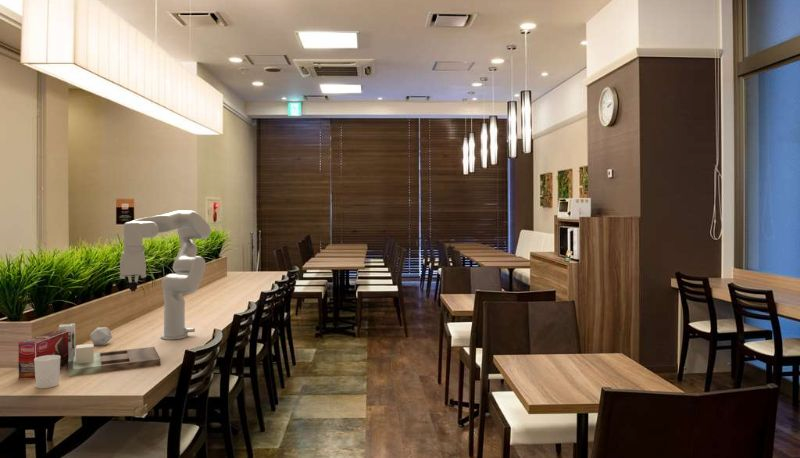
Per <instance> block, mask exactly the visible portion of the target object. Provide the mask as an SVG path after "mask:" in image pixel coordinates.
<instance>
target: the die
mask: <svg viewBox="0 0 800 458" xmlns="http://www.w3.org/2000/svg"><path fill="white" fill-rule="evenodd" d="M89 337H90V339H91V342H92V344H93V346H106V345H107V343H108V342H109V341H110V340H112V338H113V335H112V332H111V331H110V328H109V327H107V326H104V327H96V328H95V329H94V330H93V331H92V332H91V333H90V334H89Z"/></svg>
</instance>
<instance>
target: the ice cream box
mask: <svg viewBox="0 0 800 458" xmlns="http://www.w3.org/2000/svg"><path fill="white" fill-rule="evenodd" d="M17 344H18V379H22V378H33V379H35V367H34V359H35V358H37V357H40V356H46V355H59V356H61V357H60V368H62V367H65V366H68V358H69V354H68V331H59V330H56V331H55V330H52V331H50V332H46V333H44V334H40V335H38V336H34V337H32V338H29V339H26V340H23V341H20V342H18V343H17ZM33 379H32V380H33ZM35 380H36V379H35Z"/></svg>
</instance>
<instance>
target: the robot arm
mask: <svg viewBox="0 0 800 458" xmlns="http://www.w3.org/2000/svg"><path fill="white" fill-rule="evenodd" d="M176 229H177V235H178V238H179V242H180V246H179V250H178V253H177V255H176V257H175V259H174V261H173V264H172V270H173V272H174V273H168V274H166V275H164V276H163V278H162V279H161V287H162V288H161V289H162V292H163V308H164V309H163V313H164V314H163V317H164V318H163V330H164V331H163V333H162V334H161V335H160V339H161V340H169V341H170V340H171V341H173V340H182V339H185V338H188V336H189V333H195V332H196V329H195V327H186V322H185V321H186V319H185V318H186V316H185V313H186V312H185V311H186V307H185V306H186V301H185V298H184V296H183V294H190V295H191V294H194V293H196V291H197V290H198V289H199V286H200V283H201V282H202V279H203V277H204V274H205V271H206V266H207V265H206V260H205V258H203V257H202V256H200V255H197V253H198V247H197V245H196V242H195V240H205V239H208V238H209V237H210V236H211V232H212V231H211V227H210V225H209V223H208V222H207V221H206V220H205V219H204V218H203V217H202V215H200V214H199V213H198V212H196V211H194V210H174V211H172V212H168V213H167V212H166V213H163V214H160V215H153V216H146V217H142V218H137V219H134V220H131V221H126V222H125V223H124V224H123V252H121V255H120V262H119V272H120V273H119V274H120V275H119V279H124V280H126V281H127V282H128V288H129V290H130V291H131V292H136V290H137V289H138V282H139V281H140V280H141V279H144V278H146V277H147V273H146V272H147V266H146V265H147V264H146V255H145V252H143V251H146V250H147V247H146V246H144V245H143V239H145V238H146V239H151V238H155V237H156V236H157V235H158V234H160V233H168V232H171V231H174V230H176ZM132 276H134V280H132Z"/></svg>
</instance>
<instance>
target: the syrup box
mask: <svg viewBox="0 0 800 458" xmlns="http://www.w3.org/2000/svg"><path fill="white" fill-rule="evenodd" d="M58 331H68V354H69V349H70V348H74V355H76V323H66V324H59V326H58Z"/></svg>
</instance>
